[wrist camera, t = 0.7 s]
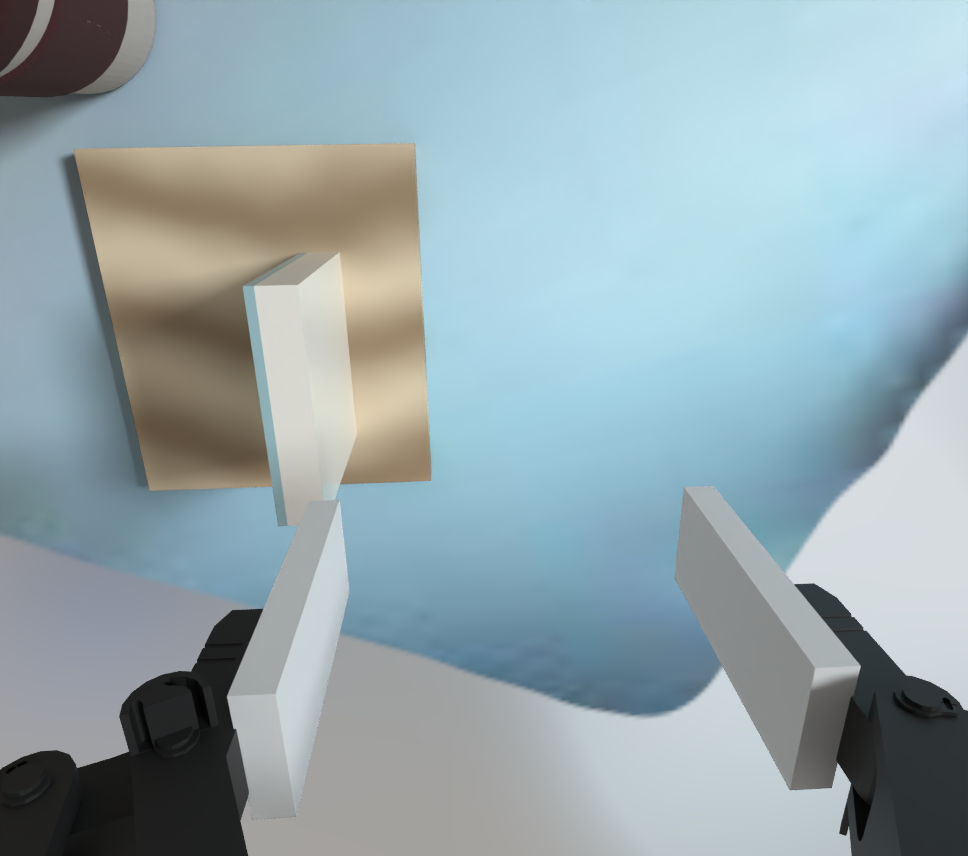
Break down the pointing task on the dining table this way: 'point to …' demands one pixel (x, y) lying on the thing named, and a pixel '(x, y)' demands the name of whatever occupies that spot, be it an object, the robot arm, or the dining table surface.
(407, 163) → the board
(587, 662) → the dining table surface
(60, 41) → the coffee cup
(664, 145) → the dining table surface
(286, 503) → the tile
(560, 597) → the dining table surface
